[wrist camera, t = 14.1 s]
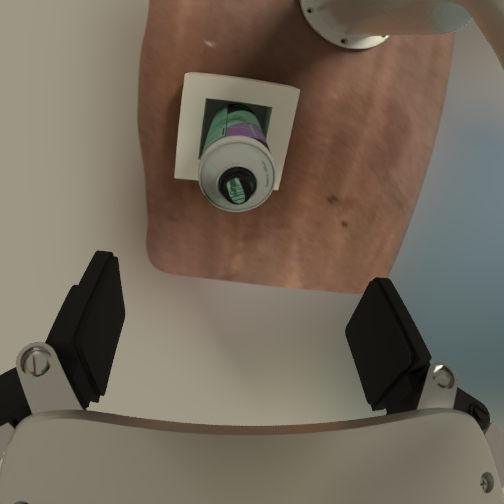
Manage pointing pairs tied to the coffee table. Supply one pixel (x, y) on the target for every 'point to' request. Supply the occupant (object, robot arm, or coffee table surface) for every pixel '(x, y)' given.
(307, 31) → the coffee table surface
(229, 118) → the spray can
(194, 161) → the can holder
